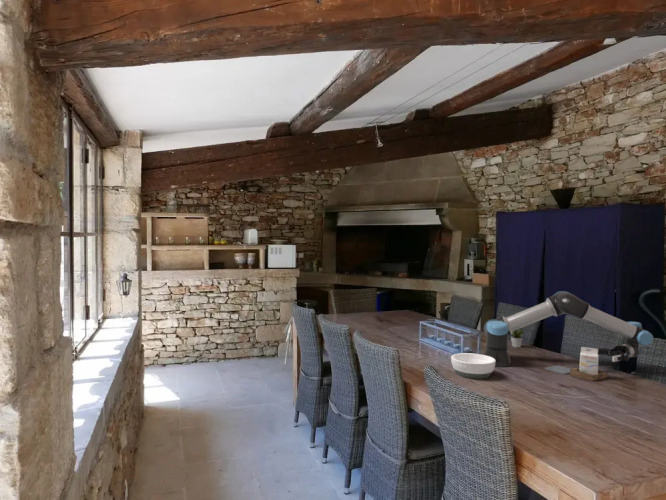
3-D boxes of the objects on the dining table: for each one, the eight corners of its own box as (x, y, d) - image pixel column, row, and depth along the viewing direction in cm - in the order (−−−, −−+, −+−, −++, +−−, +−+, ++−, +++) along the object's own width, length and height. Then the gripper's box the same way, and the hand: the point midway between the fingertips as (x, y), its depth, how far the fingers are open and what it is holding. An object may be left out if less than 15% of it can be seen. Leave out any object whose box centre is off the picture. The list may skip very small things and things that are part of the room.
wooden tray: (592, 381, 247) (592, 375, 247) (570, 374, 258) (570, 369, 258) (607, 378, 253) (607, 372, 253) (584, 371, 264) (584, 366, 264)
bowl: (497, 381, 244) (498, 365, 244) (451, 378, 249) (451, 362, 248) (492, 369, 266) (492, 354, 266) (450, 366, 271) (450, 351, 270)
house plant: (501, 347, 320) (502, 322, 320) (504, 343, 333) (505, 319, 332) (524, 350, 314) (525, 324, 313) (527, 345, 326) (527, 321, 325)
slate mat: (564, 374, 259) (564, 373, 259) (544, 368, 269) (544, 367, 269) (578, 371, 265) (578, 370, 265) (558, 366, 275) (558, 365, 275)
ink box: (579, 376, 255) (579, 348, 255) (579, 374, 260) (580, 346, 259) (597, 379, 251) (598, 350, 251) (597, 376, 256) (598, 348, 255)
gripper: (646, 363, 260) (623, 368, 249) (601, 353, 282) (578, 358, 271) (647, 349, 260) (624, 354, 249) (601, 340, 281) (578, 344, 271)
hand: (600, 356), depth 260 cm, fingers open, 13 cm apart
